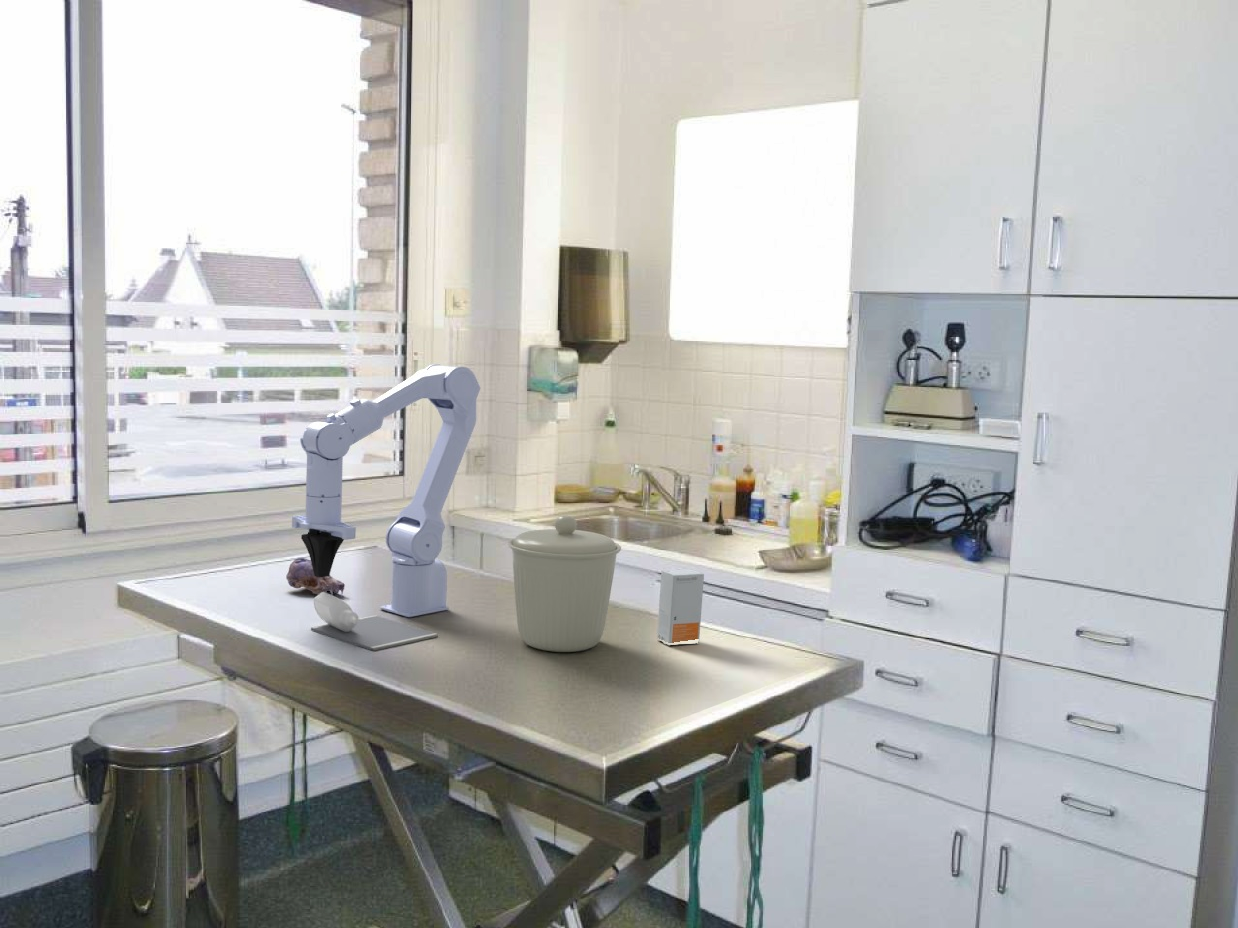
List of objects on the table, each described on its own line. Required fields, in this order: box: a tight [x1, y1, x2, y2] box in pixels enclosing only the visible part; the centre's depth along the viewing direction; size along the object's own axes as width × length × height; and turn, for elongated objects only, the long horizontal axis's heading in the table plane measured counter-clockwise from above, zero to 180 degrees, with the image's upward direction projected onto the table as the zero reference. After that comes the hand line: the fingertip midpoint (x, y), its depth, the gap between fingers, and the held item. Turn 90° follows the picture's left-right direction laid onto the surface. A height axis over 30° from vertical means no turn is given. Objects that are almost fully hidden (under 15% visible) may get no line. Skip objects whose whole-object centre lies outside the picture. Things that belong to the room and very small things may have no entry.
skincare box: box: [656, 568, 705, 643], centre depth 184 cm, size 6×4×12 cm
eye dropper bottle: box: [313, 592, 360, 632], centre depth 179 cm, size 4×6×12 cm
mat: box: [310, 614, 438, 652], centre depth 180 cm, size 13×16×1 cm
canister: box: [507, 515, 622, 653], centre depth 178 cm, size 18×18×21 cm
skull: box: [286, 557, 346, 596], centre depth 206 cm, size 12×8×6 cm, turn 54°
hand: (321, 576), depth 184 cm, fingers closed
